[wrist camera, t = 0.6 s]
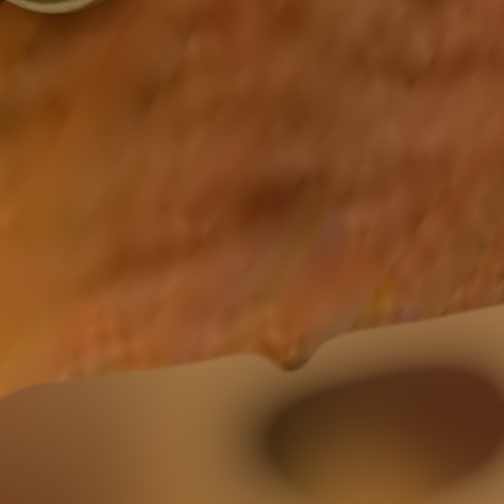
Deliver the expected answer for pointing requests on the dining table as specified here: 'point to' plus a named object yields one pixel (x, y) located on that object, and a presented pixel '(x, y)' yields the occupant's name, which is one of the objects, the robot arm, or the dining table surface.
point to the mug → (56, 6)
